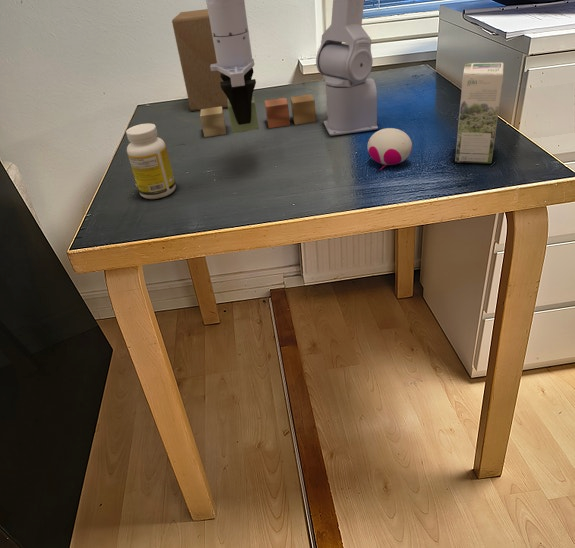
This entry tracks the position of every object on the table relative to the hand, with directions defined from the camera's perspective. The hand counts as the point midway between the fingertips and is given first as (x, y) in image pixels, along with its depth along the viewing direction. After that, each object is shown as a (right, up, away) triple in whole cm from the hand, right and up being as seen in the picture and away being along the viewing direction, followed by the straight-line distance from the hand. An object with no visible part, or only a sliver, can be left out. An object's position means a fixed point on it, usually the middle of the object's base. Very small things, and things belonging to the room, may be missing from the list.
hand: (243, 118), depth 89 cm
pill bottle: (-14, -13, -1) cm, 19 cm away
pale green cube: (0, -1, +1) cm, 1 cm away
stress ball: (+24, -8, -1) cm, 26 cm away
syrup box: (+38, -7, -3) cm, 39 cm away
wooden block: (-10, +15, +38) cm, 42 cm away
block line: (+2, +5, +21) cm, 22 cm away
